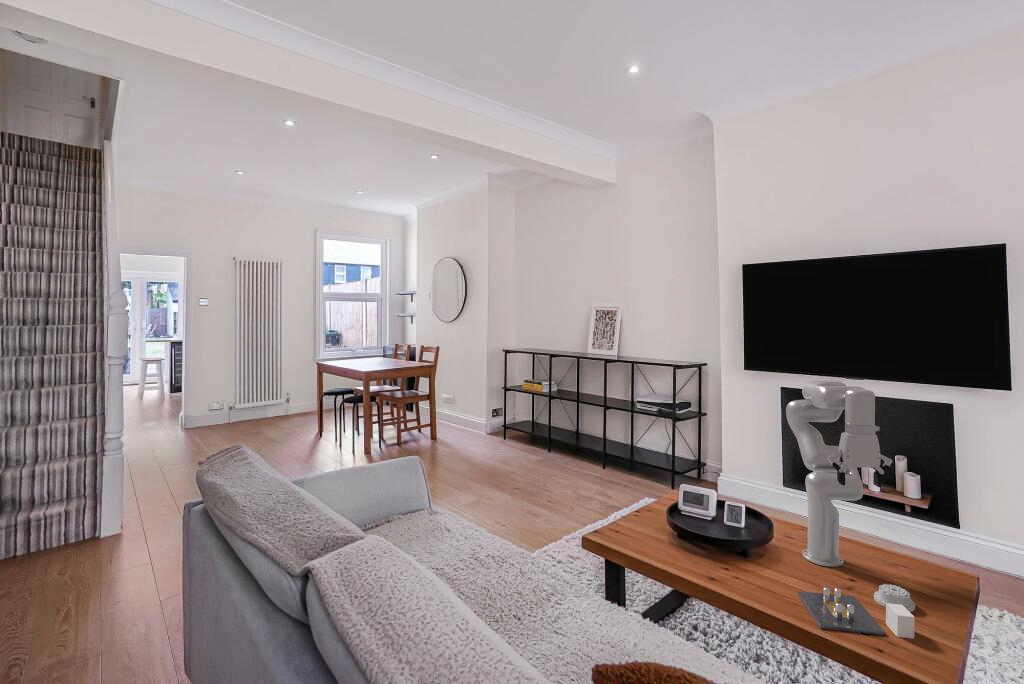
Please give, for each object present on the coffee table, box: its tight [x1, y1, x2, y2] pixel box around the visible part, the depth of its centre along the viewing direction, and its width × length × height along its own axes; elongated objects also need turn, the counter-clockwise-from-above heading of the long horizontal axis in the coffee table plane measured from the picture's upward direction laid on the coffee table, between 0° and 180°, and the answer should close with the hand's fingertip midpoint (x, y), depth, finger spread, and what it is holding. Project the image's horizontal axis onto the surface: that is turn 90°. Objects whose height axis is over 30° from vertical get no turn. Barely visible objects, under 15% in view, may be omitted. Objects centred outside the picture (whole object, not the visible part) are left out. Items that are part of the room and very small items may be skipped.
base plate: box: [797, 586, 886, 636], centre depth 147 cm, size 18×16×5 cm
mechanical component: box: [873, 583, 916, 613], centre depth 152 cm, size 10×4×10 cm
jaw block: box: [885, 603, 916, 639], centre depth 138 cm, size 6×4×6 cm, turn 168°
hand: (859, 485), depth 154 cm, fingers open, 9 cm apart
